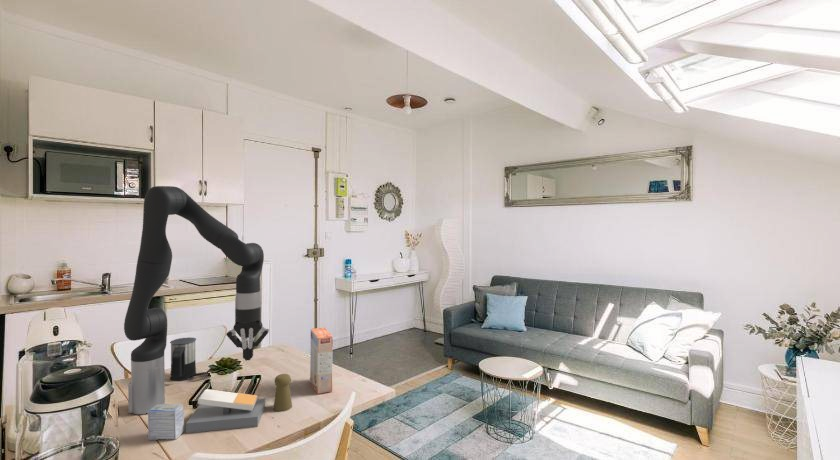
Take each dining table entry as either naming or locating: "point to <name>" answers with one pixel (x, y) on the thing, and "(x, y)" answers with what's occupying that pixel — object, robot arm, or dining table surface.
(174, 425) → the medicine box
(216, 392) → the rocker switch
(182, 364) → the milk frother
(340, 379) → the dining table surface
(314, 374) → the cracker box
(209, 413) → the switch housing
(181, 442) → the dining table surface
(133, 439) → the dining table surface
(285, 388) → the olive green pawn
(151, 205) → the robot arm
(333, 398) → the dining table surface
